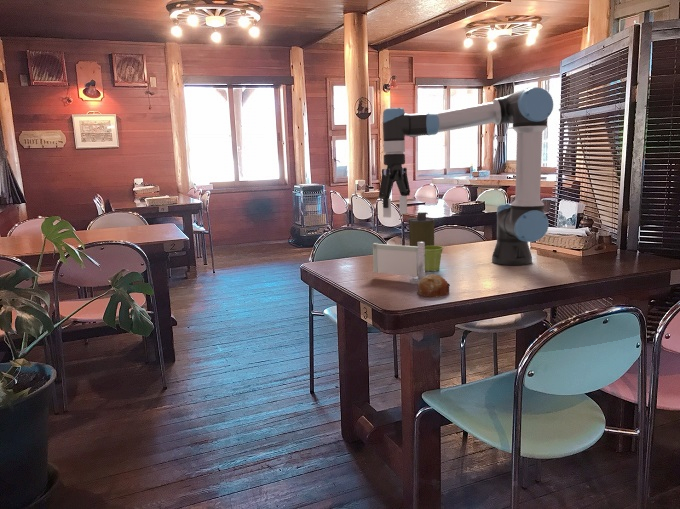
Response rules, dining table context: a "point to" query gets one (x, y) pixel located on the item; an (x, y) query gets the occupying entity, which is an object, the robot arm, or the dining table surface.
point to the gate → (395, 259)
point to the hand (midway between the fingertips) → (395, 215)
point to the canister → (421, 230)
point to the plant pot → (432, 257)
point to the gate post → (420, 263)
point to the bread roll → (433, 286)
